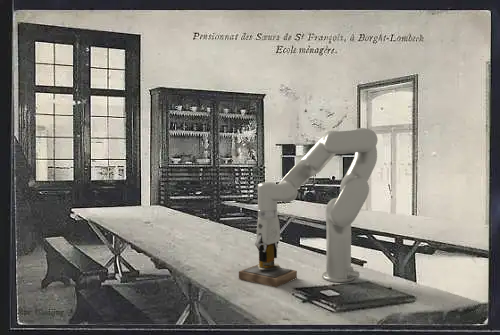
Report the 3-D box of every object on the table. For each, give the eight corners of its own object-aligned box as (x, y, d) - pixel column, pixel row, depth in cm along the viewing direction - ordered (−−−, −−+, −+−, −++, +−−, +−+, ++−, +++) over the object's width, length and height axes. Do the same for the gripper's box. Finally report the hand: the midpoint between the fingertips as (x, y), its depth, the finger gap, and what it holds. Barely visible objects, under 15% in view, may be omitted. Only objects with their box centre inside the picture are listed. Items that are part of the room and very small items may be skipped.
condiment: (257, 264, 223) (256, 235, 222) (278, 263, 224) (277, 234, 223) (259, 269, 216) (258, 239, 215) (281, 268, 217) (280, 238, 215)
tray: (296, 278, 220) (296, 269, 220) (276, 287, 209) (276, 278, 209) (260, 270, 231) (259, 262, 231) (238, 278, 220) (238, 270, 219)
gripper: (262, 218, 208) (262, 266, 210) (288, 211, 222) (288, 256, 224) (246, 216, 213) (247, 263, 215) (272, 210, 226) (273, 253, 228)
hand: (268, 259), depth 219 cm, fingers closed on condiment, 6 cm apart
